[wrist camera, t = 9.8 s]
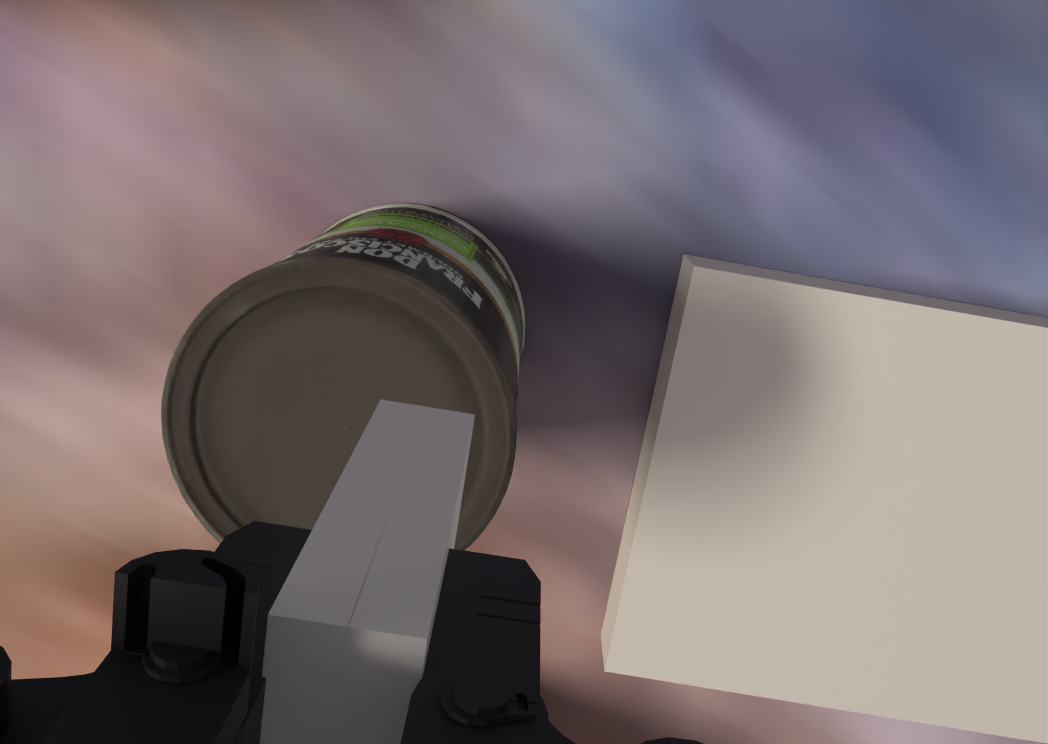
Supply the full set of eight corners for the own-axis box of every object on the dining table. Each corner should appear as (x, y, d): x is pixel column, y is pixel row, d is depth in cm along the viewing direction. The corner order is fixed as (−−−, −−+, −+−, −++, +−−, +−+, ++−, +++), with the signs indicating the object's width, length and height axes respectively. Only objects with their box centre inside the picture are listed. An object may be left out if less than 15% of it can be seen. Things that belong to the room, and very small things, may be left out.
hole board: (683, 253, 41) (694, 266, 38) (1335, 367, 42) (1393, 388, 39) (600, 634, 46) (604, 671, 43) (1185, 730, 47) (1228, 772, 44)
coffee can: (301, 179, 40) (179, 222, 27) (548, 230, 41) (550, 299, 27) (268, 413, 43) (141, 560, 30) (499, 460, 44) (479, 625, 30)
